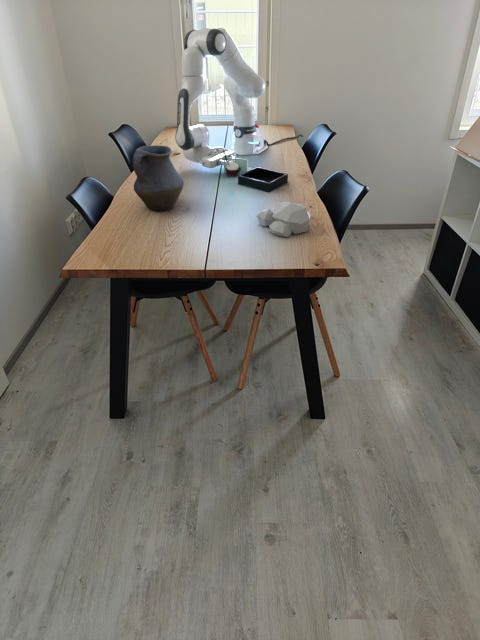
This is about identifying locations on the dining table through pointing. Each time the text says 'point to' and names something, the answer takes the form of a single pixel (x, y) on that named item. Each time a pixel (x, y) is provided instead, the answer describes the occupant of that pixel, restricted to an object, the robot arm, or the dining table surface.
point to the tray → (262, 179)
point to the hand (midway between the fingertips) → (232, 161)
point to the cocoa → (231, 167)
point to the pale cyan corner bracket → (240, 164)
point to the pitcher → (156, 177)
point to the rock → (285, 219)
